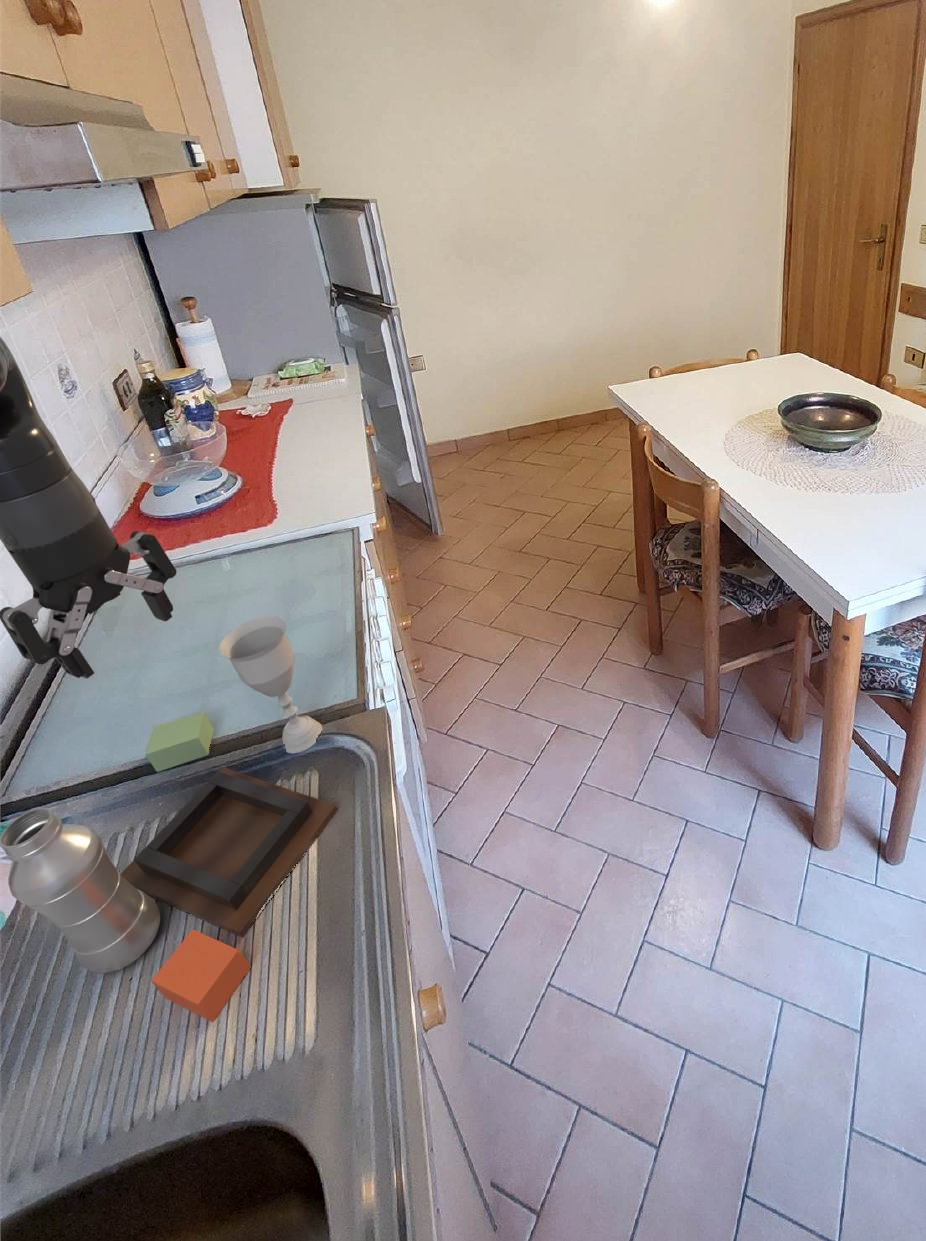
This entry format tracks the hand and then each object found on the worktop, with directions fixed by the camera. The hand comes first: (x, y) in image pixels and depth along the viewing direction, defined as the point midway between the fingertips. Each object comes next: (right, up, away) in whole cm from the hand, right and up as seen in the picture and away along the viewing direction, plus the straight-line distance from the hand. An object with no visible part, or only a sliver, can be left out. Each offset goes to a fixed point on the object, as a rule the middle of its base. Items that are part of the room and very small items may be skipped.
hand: (126, 645), depth 72 cm
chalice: (+11, -17, +16) cm, 26 cm away
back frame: (+9, -24, +4) cm, 26 cm away
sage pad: (-4, -19, +16) cm, 25 cm away
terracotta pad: (+14, -30, -8) cm, 34 cm away
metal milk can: (+4, -29, -4) cm, 30 cm away
